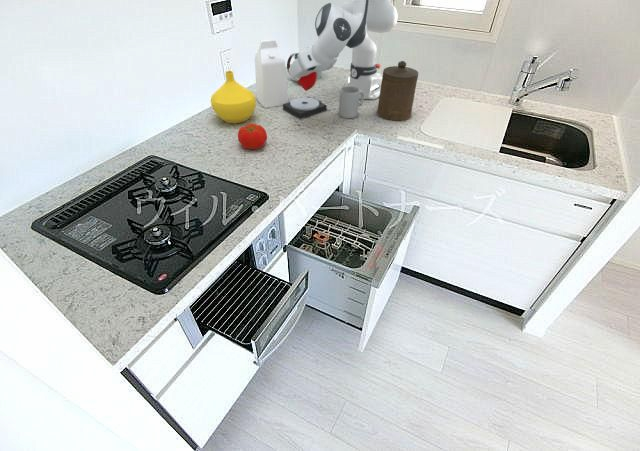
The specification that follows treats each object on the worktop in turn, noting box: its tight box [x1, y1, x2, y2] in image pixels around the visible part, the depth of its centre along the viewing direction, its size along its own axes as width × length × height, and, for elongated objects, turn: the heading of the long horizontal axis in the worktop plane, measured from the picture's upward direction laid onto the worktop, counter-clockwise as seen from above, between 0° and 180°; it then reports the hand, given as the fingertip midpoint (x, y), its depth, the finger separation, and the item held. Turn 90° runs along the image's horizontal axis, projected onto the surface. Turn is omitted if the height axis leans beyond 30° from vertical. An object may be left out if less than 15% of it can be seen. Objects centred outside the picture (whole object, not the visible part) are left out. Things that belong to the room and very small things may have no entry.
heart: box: [297, 72, 317, 91], centre depth 136 cm, size 12×5×10 cm, turn 40°
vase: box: [210, 70, 257, 124], centre depth 139 cm, size 18×18×19 cm
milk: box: [254, 39, 290, 109], centre depth 151 cm, size 12×12×26 cm
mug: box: [338, 85, 365, 119], centre depth 148 cm, size 12×8×11 cm
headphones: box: [286, 52, 299, 83], centre depth 173 cm, size 6×15×22 cm
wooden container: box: [377, 60, 419, 121], centre depth 145 cm, size 15×15×22 cm
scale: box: [282, 96, 328, 120], centre depth 152 cm, size 15×13×3 cm
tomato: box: [237, 122, 268, 150], centre depth 125 cm, size 11×11×8 cm
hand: (304, 76), depth 136 cm, fingers closed on heart, 5 cm apart
